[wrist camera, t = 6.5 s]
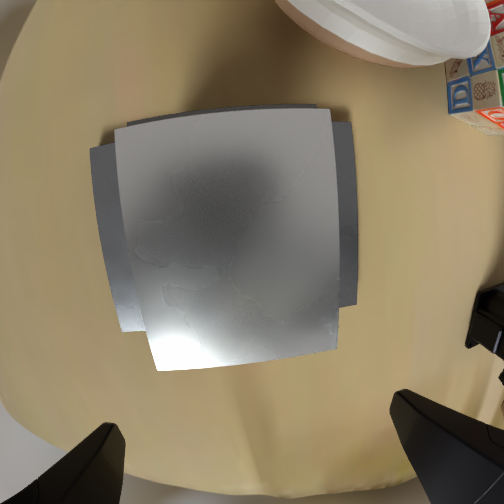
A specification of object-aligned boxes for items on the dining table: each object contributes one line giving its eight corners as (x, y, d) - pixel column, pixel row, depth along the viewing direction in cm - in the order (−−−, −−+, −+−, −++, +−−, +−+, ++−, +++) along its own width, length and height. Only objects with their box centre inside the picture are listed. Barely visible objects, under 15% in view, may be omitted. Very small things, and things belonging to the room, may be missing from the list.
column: (266, 148, 13) (331, 102, 5) (274, 255, 14) (338, 350, 6) (178, 157, 13) (111, 123, 4) (190, 265, 14) (156, 372, 6)
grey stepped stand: (343, 125, 17) (402, 102, 10) (349, 298, 20) (399, 347, 13) (97, 150, 16) (37, 138, 9) (126, 323, 19) (92, 383, 12)
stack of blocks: (488, 137, 18) (592, 138, 6) (446, 115, 17) (568, 100, 6) (459, -20, 13) (521, -52, 1) (417, -45, 13) (477, -91, 1)
